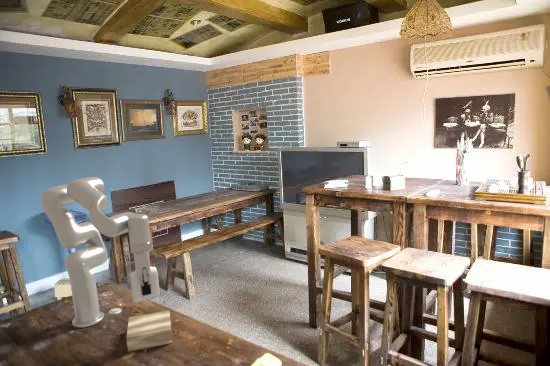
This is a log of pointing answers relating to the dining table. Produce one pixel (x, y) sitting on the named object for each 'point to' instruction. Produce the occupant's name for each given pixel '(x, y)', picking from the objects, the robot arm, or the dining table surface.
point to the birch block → (149, 330)
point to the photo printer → (137, 287)
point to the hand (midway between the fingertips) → (146, 291)
